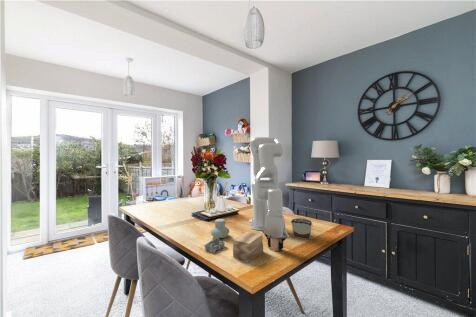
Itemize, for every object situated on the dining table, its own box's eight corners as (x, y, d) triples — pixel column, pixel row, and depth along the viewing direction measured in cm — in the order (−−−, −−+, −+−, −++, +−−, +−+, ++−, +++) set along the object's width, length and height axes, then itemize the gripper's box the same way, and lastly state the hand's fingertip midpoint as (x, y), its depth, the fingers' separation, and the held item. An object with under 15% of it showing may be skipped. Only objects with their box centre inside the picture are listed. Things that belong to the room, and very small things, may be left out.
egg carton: (217, 243, 124) (217, 236, 124) (227, 247, 119) (226, 239, 119) (202, 250, 116) (202, 242, 116) (212, 254, 111) (212, 245, 111)
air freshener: (220, 241, 127) (220, 223, 127) (209, 238, 131) (208, 221, 131) (231, 235, 136) (230, 218, 136) (220, 232, 141) (219, 216, 141)
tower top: (233, 249, 106) (233, 239, 106) (246, 240, 117) (246, 231, 117) (249, 253, 101) (249, 243, 101) (262, 243, 112) (262, 234, 112)
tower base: (233, 257, 107) (233, 248, 107) (248, 248, 118) (248, 239, 118) (248, 263, 102) (248, 253, 102) (263, 252, 112) (263, 243, 112)
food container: (314, 236, 132) (314, 219, 132) (312, 240, 127) (312, 222, 126) (294, 233, 138) (293, 217, 138) (290, 236, 133) (290, 219, 133)
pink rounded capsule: (268, 249, 115) (268, 238, 115) (273, 246, 119) (273, 235, 119) (277, 252, 112) (277, 240, 112) (282, 248, 116) (281, 237, 116)
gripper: (256, 212, 117) (257, 246, 117) (287, 217, 107) (287, 255, 107) (264, 209, 123) (264, 242, 124) (293, 213, 113) (294, 249, 113)
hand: (275, 247), depth 115 cm, fingers open, 5 cm apart
